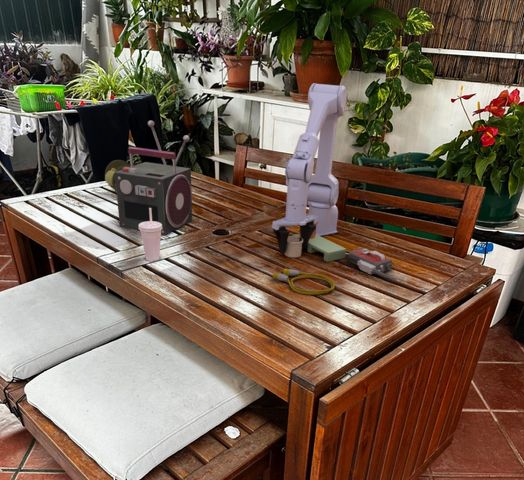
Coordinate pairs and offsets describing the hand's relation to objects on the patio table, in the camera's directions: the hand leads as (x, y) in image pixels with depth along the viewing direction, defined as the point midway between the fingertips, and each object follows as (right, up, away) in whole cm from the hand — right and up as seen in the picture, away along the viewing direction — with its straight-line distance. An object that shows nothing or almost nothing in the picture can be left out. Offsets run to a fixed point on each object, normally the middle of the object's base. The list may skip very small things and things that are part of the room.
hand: (292, 249), depth 151 cm
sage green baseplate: (+8, +1, +4) cm, 9 cm away
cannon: (-57, +32, +50) cm, 83 cm away
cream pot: (0, -1, +1) cm, 1 cm away
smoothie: (-40, -4, -7) cm, 41 cm away
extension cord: (+2, -12, -17) cm, 21 cm away
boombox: (-44, +12, +20) cm, 49 cm away
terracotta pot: (+5, +6, +7) cm, 10 cm away
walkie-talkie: (+23, -7, -7) cm, 25 cm away
